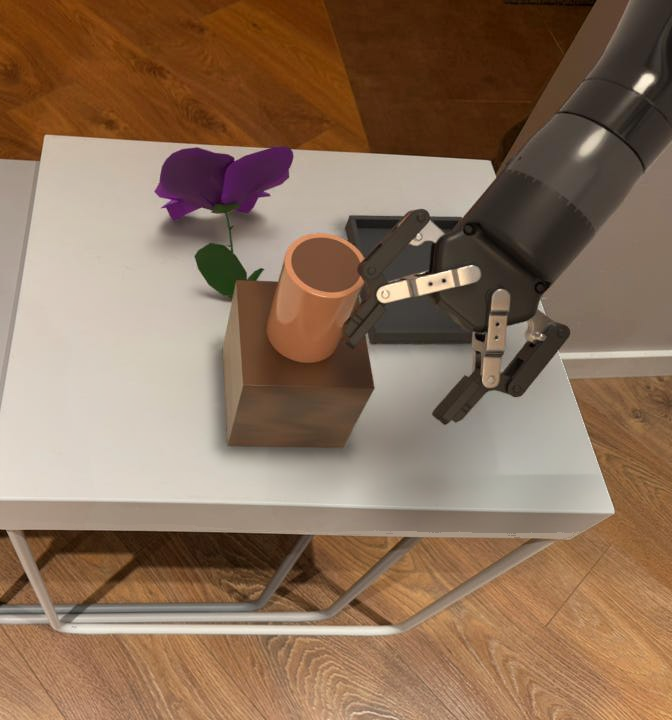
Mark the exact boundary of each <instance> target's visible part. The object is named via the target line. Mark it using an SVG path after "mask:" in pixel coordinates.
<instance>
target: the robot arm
mask: <svg viewBox="0 0 672 720" xmlns="http://www.w3.org/2000/svg"><path fill="white" fill-rule="evenodd" d="M670 145H672V0H629V1H628V2H627V5H626V7H625V9H624V12H623V14H622V15H621V17H620V19H619V22H618V24H617V27H616V28H615V29H614V32H613V33H612V35H611V37H610V39H609V41H608V43H607V45H606V47H605V48H604V50H603V52H602V54H601V55H600V57H599V58H598V60H597V62H596V63H595V65H594V66H593V68H592V69H591V70H590V72H589V73H588V74H587V75H586V77H584V79H583V80H582V81H581V82H580V84H579V85H578V86H577V87H576V88H575V89H574V90H573V92H572V93H570V95H569V96H568V98H567V99H566V100H565V102H563V104H562V105H561V106H560V107H559V109H558V110H557V111H556V112H555V113H554V115H552V116H551V118H550V119H549V120H548V121H547V122H546V123H545V124H544V125H542V126H541V127H540V129H538V130H537V131H536V132H535V133H534V134H533V135H532V136H531V137H530V138H528V140H527V141H526V142H525V143H524V144H523V145H522V147H521V148H520V149H519V150H518V151H517V152H516V153H515V154H513V155H512V156H511V157H510V158H509V159H508V160H507V162H506V164H505V166H504V168H503V169H502V170H501V171H500V173H499V174H498V175H497V176H496V177H495V178H494V180H493V181H492V182H491V183H490V185H489V186H488V187H487V188H486V189H485V190H484V192H482V194H481V195H480V197H479V198H477V200H476V201H475V202H474V204H473V205H472V206H471V207H470V208H469V209H468V210H467V212H466V213H465V214H464V216H462V219H461V220H460V221H459V222H458V224H457V225H456V226H455V227H454V228H452V229H451V230H449V231H447V232H445V233H444V232H443V231H442V230H441V229H440V228H439V227H437V226H436V225H435V224H434V223H433V222H432V221H431V220H430V216H431V215H430V212H429V211H428V210H427V209H424V208H416V209H411V210H409V211H407V212H406V213H405V214H404V215H402V216H403V218H402V219H401V220H400V221H399V222H398V223H397V224H396V225H395V226H394V227H393V228H392V229H391V230H390V231H389V233H388V234H387V235H386V236H385V237H384V238H383V239H382V240H381V241H380V242H379V243H378V244H377V245H376V247H375V248H374V249H373V250H372V251H371V252H370V253H369V254H368V255H367V256H366V257H365V258H364V259H363V260H362V262H361V263H360V264H359V265H358V267H357V272H358V274H359V275H360V276H361V278H362V279H363V281H364V283H365V284H366V286H367V295H366V297H365V298H364V300H363V301H362V302H361V301H360V304H359V306H358V307H357V308H356V309H355V310H354V312H353V313H352V314H351V315H350V316H349V318H348V319H347V320H346V321H345V322H344V324H343V327H342V330H341V331H342V332H343V333H345V334H346V335H345V336H344V337H343V339H342V341H341V342H342V343H343V344H344V345H346V346H347V347H348V348H349V349H351V350H352V349H354V348H355V347H356V346H357V345H358V343H359V342H360V341H361V340H362V339H363V337H364V336H365V335H367V334H368V332H369V330H370V329H371V328H372V327H373V326H374V324H375V323H376V322H377V321H378V320H379V319H380V317H381V316H382V315H383V314H384V313H385V311H386V310H387V309H386V308H385V306H386V304H387V303H389V302H393V301H397V300H401V299H405V298H409V297H416V296H421V295H425V294H428V296H429V298H430V302H431V303H432V304H433V305H435V306H436V307H437V308H439V309H441V310H443V311H446V312H448V313H449V314H450V316H451V317H452V319H453V320H454V321H455V322H456V323H457V324H458V325H459V326H460V327H462V328H463V329H465V330H468V331H470V332H473V334H472V344H471V348H472V362H471V363H472V364H471V373H470V375H469V376H468V375H466V374H464V375H463V376H462V377H461V378H460V380H458V382H457V383H456V384H455V385H454V386H453V387H452V388H451V390H449V392H448V393H447V394H446V395H445V396H444V398H443V399H441V400H440V402H439V403H438V404H437V406H436V407H435V408H434V409H433V410H432V412H431V415H432V416H433V418H435V419H436V420H437V421H438V422H440V423H441V424H442V425H443V426H447V425H448V424H450V422H451V421H452V422H453V423H455V424H457V423H459V422H460V421H462V420H464V419H465V417H466V416H467V415H468V414H469V413H470V412H471V411H472V409H474V408H475V406H476V405H477V404H478V403H479V401H481V399H482V398H483V397H484V396H485V395H486V394H487V393H488V392H492V391H496V392H500V393H503V394H506V395H509V396H511V397H513V398H520V397H522V396H523V395H525V393H526V392H527V391H528V390H529V388H530V387H531V385H532V384H533V383H534V382H535V380H537V378H538V377H539V375H540V374H541V373H542V372H543V371H544V369H545V368H546V367H547V365H548V364H549V363H550V362H551V360H552V359H553V358H554V357H555V356H556V354H557V353H558V352H559V351H560V349H561V348H562V347H563V345H564V344H565V343H566V342H567V341H568V339H569V338H570V336H571V329H570V327H569V326H568V325H566V324H564V323H561V322H557V321H555V320H554V319H552V318H551V317H549V316H548V315H546V314H545V313H544V312H542V311H541V310H540V309H539V306H540V302H541V299H542V297H543V295H544V294H545V293H546V292H547V291H548V290H549V289H550V288H551V287H552V286H553V285H554V283H556V281H557V280H558V279H559V278H561V275H563V274H564V272H565V271H566V270H567V269H568V268H569V267H570V265H571V264H572V263H573V262H574V261H575V260H576V259H577V257H578V256H579V255H580V254H581V253H582V252H583V251H584V249H585V248H586V247H587V246H588V245H589V244H590V243H591V242H592V241H593V239H594V238H595V237H596V236H597V235H598V234H599V233H600V231H601V230H602V229H603V228H604V227H605V226H606V225H607V224H608V222H609V221H610V220H611V219H612V218H613V216H615V214H616V213H617V212H618V211H619V210H620V208H621V207H622V206H623V205H624V203H625V202H626V200H627V199H628V197H629V196H630V194H631V192H632V191H633V190H634V188H636V185H637V184H638V183H639V182H640V180H641V179H642V178H643V177H644V175H645V174H646V173H647V172H648V171H649V169H650V168H651V167H652V166H653V165H654V163H656V161H658V159H659V158H660V157H661V156H662V155H663V154H664V152H665V151H666V150H667V149H668V148H669V147H670ZM425 241H430V242H431V243H432V245H431V251H430V262H429V270H428V271H424V272H420V273H416V274H412V275H408V276H404V277H402V278H399V279H395V280H391V281H386V279H385V277H384V275H383V274H382V272H383V271H384V270H385V268H386V267H387V266H388V265H389V264H390V263H391V262H392V261H393V260H394V259H395V258H396V257H397V256H398V255H399V254H400V252H401V251H402V250H403V249H404V248H405V247H406V246H407V245H408V244H409V245H411V246H419V245H421V244H422V243H424V242H425ZM525 322H527V328H526V330H525V332H524V338H525V340H526V341H525V343H524V344H523V346H522V347H521V348H520V349H519V351H518V352H517V353H516V355H514V357H513V358H512V360H511V361H510V362H509V363H508V365H507V366H506V367H505V368H504V369H503V371H502V372H501V368H502V359H503V356H504V354H505V350H506V340H507V339H506V338H507V328H508V327H510V326H513V325H514V326H515V325H518V324H521V323H525ZM495 336H496V338H495Z"/></svg>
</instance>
